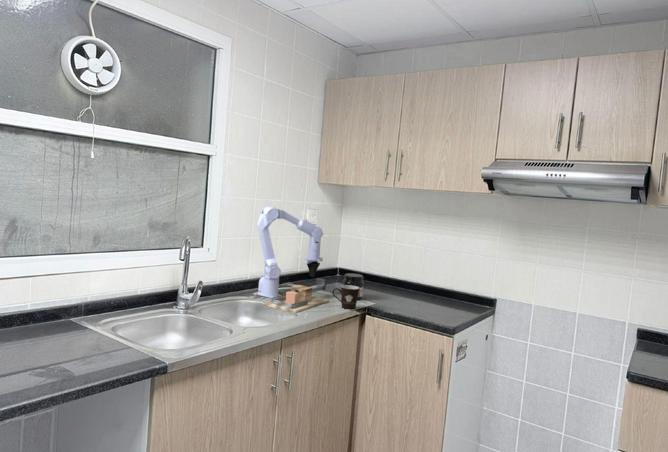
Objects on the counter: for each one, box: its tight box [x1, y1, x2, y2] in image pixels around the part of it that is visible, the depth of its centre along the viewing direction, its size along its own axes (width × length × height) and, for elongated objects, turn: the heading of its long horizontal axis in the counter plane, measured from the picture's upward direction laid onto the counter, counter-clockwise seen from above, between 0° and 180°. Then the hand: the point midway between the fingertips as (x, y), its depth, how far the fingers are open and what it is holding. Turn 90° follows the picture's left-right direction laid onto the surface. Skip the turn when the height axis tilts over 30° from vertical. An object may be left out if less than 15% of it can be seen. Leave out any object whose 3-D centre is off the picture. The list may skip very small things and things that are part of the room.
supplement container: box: [342, 273, 365, 301], centre depth 239 cm, size 10×10×12 cm
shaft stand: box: [263, 284, 330, 313], centre depth 219 cm, size 17×29×8 cm, turn 150°
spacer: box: [285, 290, 299, 304], centre depth 215 cm, size 5×5×3 cm
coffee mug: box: [332, 284, 359, 310], centre depth 218 cm, size 12×9×10 cm
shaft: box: [297, 277, 327, 295], centre depth 228 cm, size 5×20×5 cm, turn 150°
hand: (312, 276), depth 237 cm, fingers closed
